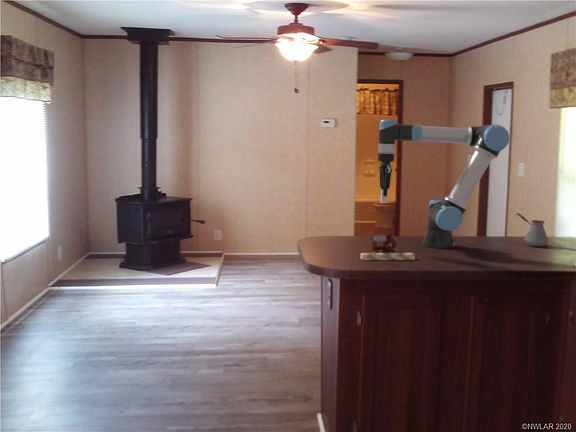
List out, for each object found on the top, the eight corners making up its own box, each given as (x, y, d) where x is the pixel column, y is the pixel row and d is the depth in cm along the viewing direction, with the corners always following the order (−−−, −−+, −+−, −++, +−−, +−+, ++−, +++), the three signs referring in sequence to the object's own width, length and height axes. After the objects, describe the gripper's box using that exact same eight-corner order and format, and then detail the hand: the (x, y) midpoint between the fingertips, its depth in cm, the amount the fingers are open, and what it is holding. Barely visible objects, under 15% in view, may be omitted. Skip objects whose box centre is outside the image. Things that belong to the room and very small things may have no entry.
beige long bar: (412, 258, 267) (412, 252, 266) (414, 259, 264) (415, 253, 263) (360, 258, 263) (360, 252, 263) (362, 260, 260) (362, 254, 260)
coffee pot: (553, 247, 302) (555, 218, 299) (535, 248, 298) (537, 218, 295) (522, 239, 321) (525, 212, 319) (505, 240, 317) (507, 212, 315)
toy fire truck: (399, 257, 267) (400, 235, 266) (373, 258, 265) (374, 235, 263) (393, 254, 274) (394, 232, 272) (367, 255, 271) (368, 232, 270)
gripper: (374, 152, 285) (372, 201, 288) (382, 153, 272) (380, 204, 275) (389, 152, 286) (387, 201, 289) (398, 153, 273) (395, 204, 277)
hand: (383, 202), depth 282 cm, fingers closed
